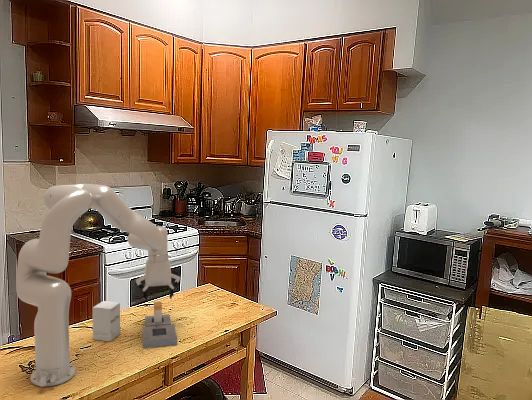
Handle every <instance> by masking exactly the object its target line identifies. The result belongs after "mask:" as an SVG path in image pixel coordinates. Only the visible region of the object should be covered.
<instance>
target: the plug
mask: <svg viewBox="0 0 532 400" xmlns="http://www.w3.org/2000/svg"><path fill="white" fill-rule="evenodd" d="M162 315H163V303H162V301H154V302H153V316H154V322H153V323H160V322H162Z"/></svg>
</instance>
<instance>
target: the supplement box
mask: <svg viewBox="0 0 532 400" xmlns="http://www.w3.org/2000/svg"><path fill="white" fill-rule="evenodd" d="M120 334H121V303H120V302H118V301H109V300H108V301H107V300H103V301H101V302H99V303H97V304H96V305H94V306H93V307H92V340H96V341H103V342H112V341H113V339H115V338H116V337H117V336H119V335H120Z"/></svg>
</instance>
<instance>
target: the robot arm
mask: <svg viewBox="0 0 532 400" xmlns="http://www.w3.org/2000/svg"><path fill="white" fill-rule="evenodd" d="M43 203H44V206H45V207H46V208H47V209H49V210H48V211H47V213H46V214H45V215H44V217H43V219H42V221H41V223H40V224H41V226H40V230H39V238H33V239H30V240H27V241H26V242H25V243H24V244H23V245H22V247H21V249H20V251H19V253H18V259H17V268H16V283H15V290H16V295H17V297H18V299H20V301H22V302H23V303H26V304H29V305H32V306H34V307H37V313H36V315H35V318H34V324H33V328H34V330H33V331H34V351H35V354H34V356H35V370H34V371H33V372H32V373H31V374H30V382H31V384H33V385H34V386H36V387H44V388H45V387H53V386H57V385H60V384H64V383H66V382H68V381H69V380H71V379H72V378H73V377H74V376H75V375H76V367H75V366H74V365H73V364H71V359H70V358H71V357H70V324H69V319H70V318H69V317H70V316H69V315H70V312H69V311H70V305H71V304H70V303H71V299H72V289H71V287H70V285H69V283H67V282H66V280H64V279H61V278H58V277H55V276H51V275H47V273H48V274H60V273H62V272H64V271H65V270H66V269H67V267H68V265H69V259H70V248H71V247H70V246H71V235H72V229H73V226H74V224H75V223H76V221H77V220H78V219H79V218H80V217H81V216H82V215H83V214H85V213H87V211H88V210H89V209H93V210H96V211H97V212H98V213H99V214H100V215H101V216H102V217H103V218H104V219H105V220H106V221H108V222H109V223H110V225H112V227H113V228H116V229H118V230H119V231H122V232H124V233H127V234H128V236H127V243H128V245H129V246H130V247H132V248H134V249H137V250H142V251H143V250H144V251H147V260H146V262H145V269H144V274H143V275H142V276H141V277H138V278H136V279H135V283H136V284H137V286H138V288H139V289H140V290H142V292H143V294H142V295H143V299H145V300H144V301H145V302H147V301H148V288H149V287H162V286H163V287H164V286H168V287H169V292H168V293H169V299H173V296H174V289H175V288H176V286H177V285H178V284H179V282H180V280H181V276H179V275H176V274H174V273H172V269H171V268H172V267H171V260H170V259H169V258H172V253H169V252H168V229H167V227H166V226H164V225H163V226H161V225H160V226H159V225H156V224H155V223H153V222H152V221H150V220H149V219H148V218H146V217H144V216H142V215H141V214H140V213H138V212H136V211H135V210H133V209H132V208H130V206H128V205H127V203H126V202H125V201H124V200H123V198H121V197H120V195H118V194H117V192H116V191H115V190H114V189H113V188H111V187H110V186H108V185H106V184H96V183H79V184H78V183H77V184H62V185H61V184H60V185H59V184H58V185H53V186H51V187H49V188H48V189H46V191H45V192H44V194H43ZM172 279H175V281H173V282H172ZM142 281H144V282H145V283H144V284H142V283H141V282H142Z"/></svg>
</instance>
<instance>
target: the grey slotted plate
mask: <svg viewBox="0 0 532 400" xmlns="http://www.w3.org/2000/svg"><path fill="white" fill-rule="evenodd" d="M171 324H172V321H171V314H170V313H169V314H162V322H160V323H154V315H145V316H144V327H148V326H160V325H171Z"/></svg>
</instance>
